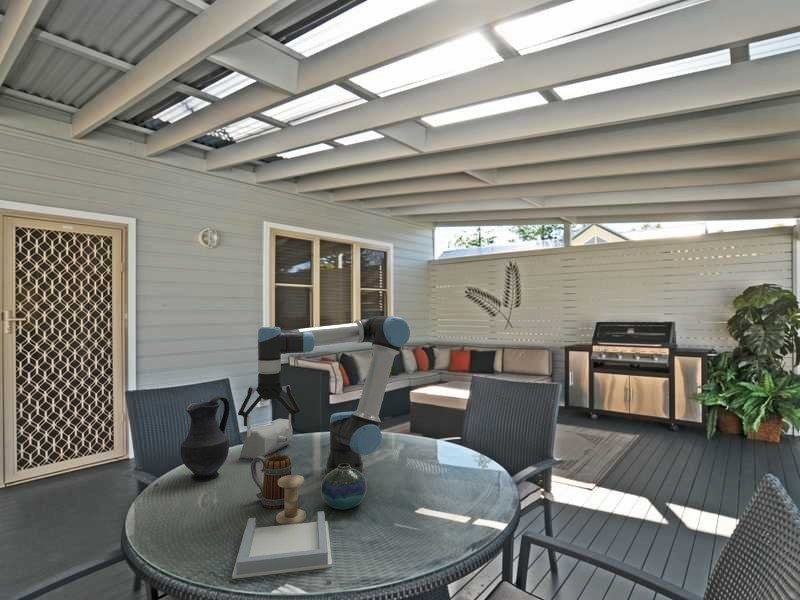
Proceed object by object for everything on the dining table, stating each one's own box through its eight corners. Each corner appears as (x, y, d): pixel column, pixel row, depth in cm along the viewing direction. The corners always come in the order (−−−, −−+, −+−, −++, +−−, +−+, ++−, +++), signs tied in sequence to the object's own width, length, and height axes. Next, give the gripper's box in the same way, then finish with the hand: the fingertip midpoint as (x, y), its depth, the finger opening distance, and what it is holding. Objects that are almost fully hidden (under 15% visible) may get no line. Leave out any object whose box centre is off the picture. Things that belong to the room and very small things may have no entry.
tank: (269, 462, 195) (269, 433, 195) (238, 458, 200) (239, 430, 201) (301, 445, 219) (301, 419, 219) (272, 442, 224) (272, 417, 224)
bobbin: (305, 510, 148) (305, 473, 148) (305, 523, 139) (305, 483, 139) (277, 513, 146) (277, 475, 146) (275, 526, 137) (275, 486, 137)
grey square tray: (327, 523, 139) (327, 511, 139) (331, 567, 115) (331, 551, 115) (245, 531, 134) (245, 518, 134) (232, 578, 110) (232, 563, 110)
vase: (329, 519, 141) (329, 476, 142) (314, 501, 155) (314, 462, 155) (374, 509, 148) (374, 468, 149) (356, 492, 162) (356, 455, 162)
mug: (299, 498, 157) (299, 455, 157) (282, 511, 147) (282, 464, 147) (261, 493, 162) (261, 450, 163) (241, 505, 152) (242, 459, 153)
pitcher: (170, 481, 173) (171, 402, 174) (211, 464, 193) (212, 393, 193) (205, 488, 167) (205, 405, 167) (244, 469, 186) (244, 395, 187)
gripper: (306, 369, 162) (306, 429, 162) (233, 371, 157) (233, 433, 157) (306, 372, 155) (306, 435, 154) (229, 374, 150) (229, 439, 149)
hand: (269, 434), depth 155 cm, fingers open, 13 cm apart
